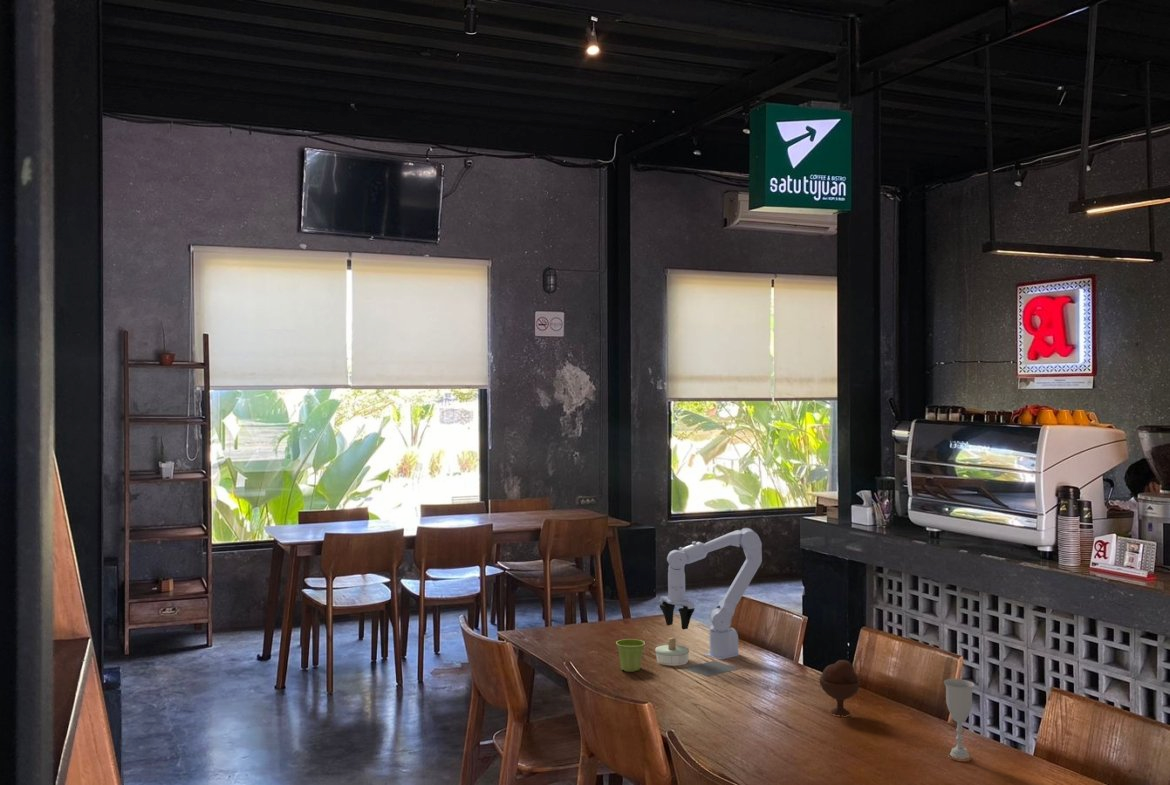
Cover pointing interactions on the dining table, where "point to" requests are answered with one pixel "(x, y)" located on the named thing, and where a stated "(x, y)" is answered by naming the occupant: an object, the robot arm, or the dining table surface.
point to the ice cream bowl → (840, 684)
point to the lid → (671, 649)
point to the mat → (710, 668)
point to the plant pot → (630, 654)
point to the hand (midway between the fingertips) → (677, 626)
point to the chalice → (959, 709)
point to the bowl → (672, 659)
